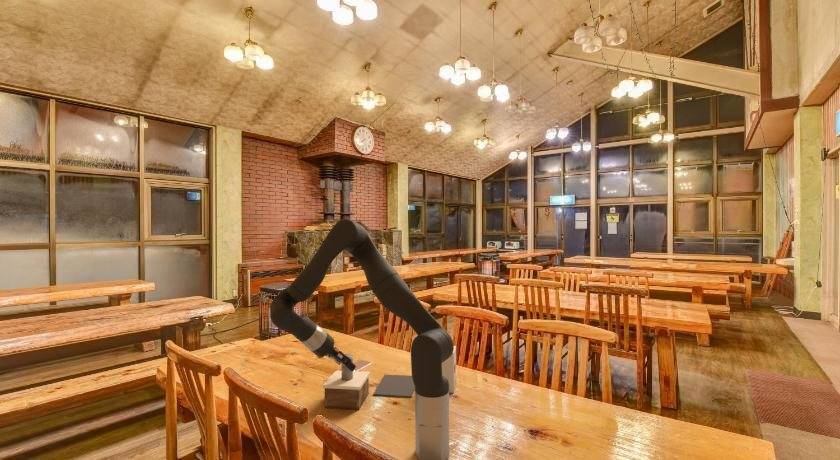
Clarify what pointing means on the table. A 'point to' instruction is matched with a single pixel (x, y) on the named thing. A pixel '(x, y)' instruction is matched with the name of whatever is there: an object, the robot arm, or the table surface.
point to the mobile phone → (360, 364)
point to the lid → (347, 378)
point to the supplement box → (450, 370)
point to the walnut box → (346, 397)
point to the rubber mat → (395, 386)
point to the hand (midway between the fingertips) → (347, 365)
